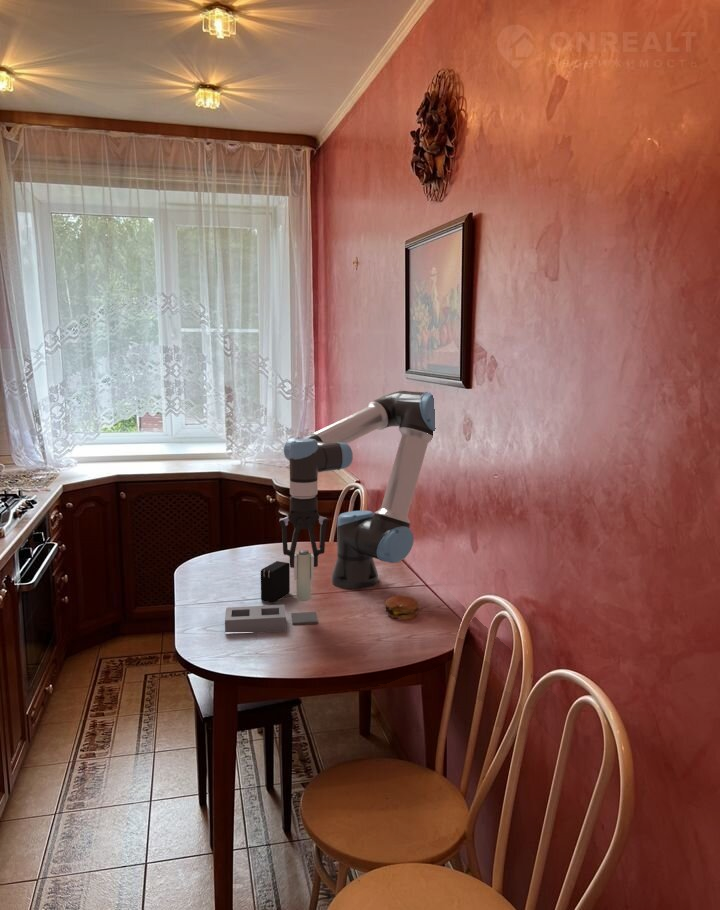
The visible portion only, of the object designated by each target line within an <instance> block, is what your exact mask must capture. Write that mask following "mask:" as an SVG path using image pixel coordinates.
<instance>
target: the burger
mask: <svg viewBox="0 0 720 910" xmlns="http://www.w3.org/2000/svg"><path fill="white" fill-rule="evenodd" d="M384 605H385V607H384V608H385V612H386V613H387V614H388V616H389V617H390V618H393V619H394V618H396V619H398V620H399V621H409V620H413V619H414V618H416V617H417V614H418V613H419V612H420V607H419V603H418V601H417V600H416V599H415V598H413V597H410V596H408V595H402V594H401V595H394V596H391V597H390V598H388V599H387V600H386V601H385V603H384Z"/></svg>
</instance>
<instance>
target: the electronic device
mask: <svg viewBox="0 0 720 910" xmlns="http://www.w3.org/2000/svg"><path fill="white" fill-rule="evenodd" d="M290 568H291V567H290V562H285V561H279V560H276V561H274V562H272V563H271V564H269V565H267V566H265V567H263V568H261V570H260V600H261V601H262V602H266V603H271V604H275V603H276V601H277V602H278V601H280V600H282V599H283V598H284V597H286V596H288V595H289V594H290V590H291V589H290V588H291V586H290V584H291V583H290V580H291V577H290V574H291V573H290V572H291V571H290Z"/></svg>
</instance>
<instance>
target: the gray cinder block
mask: <svg viewBox="0 0 720 910" xmlns="http://www.w3.org/2000/svg"><path fill="white" fill-rule="evenodd" d="M285 608H286V607H285V604H273V605H272V604H271V605H248V606H229V607H226V608H225V614H224V615H225V617H224V633H225V632H265V633H278V632H279V633H280V632H287V631H286V630H287V623H286V622H287V620H286V619H287V618H286V615H287V614H286V609H285Z"/></svg>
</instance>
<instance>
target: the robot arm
mask: <svg viewBox="0 0 720 910" xmlns="http://www.w3.org/2000/svg"><path fill="white" fill-rule="evenodd" d="M428 392H429V391H426V392H425V391H424V392H423V391H410V390H409V391H408V390H399V391H396V392H391V393H389V394H385V395H384V396H380V397H379V398H377V399H374V400H373V401H370V402H369V403H368V404H367V405H366V407H365V408H363V409H361V410H358V411H357V412H355V413H352V414H351V415H348V416H346V417H344V418H342V419H340V420H338V421H336V422H333V423H331V424H329V425H327V426H325V427H323V428H321V429H319V430H317V431H315V432H312V433H310V434H308V435H305V436H304V437H299V436H298V437H291V438H289V439H288V440H286V441H285V444H284V445H283V446H284V447H283V454H284V457H285V459H286V460H287V461H289V495H290V497H289V512H288V514H287V516H286V517H284V518H283V517H280V518H279V521H278V522H279V524H280V527H281V535H282V537H281V538H282V539H281V540H282V553H283V555H284V556H288V557H289V565H290V568H291V569H293V580H294V581H297V556H296V550H297V545H298V540H299V535H300V531H302V530H306V531H307V530H308V533H309V540H310V544H311V549H312V553H311V581H312V580H315V577H314V576H315V568H317V567H318V565H319V555H321V554H325V551H326V550H325V547H326V531H327V530H326V529H327V528H326V527H327V526H328V523H329V519H328V517H326V516H322V515H320V514H319V512H318V511H319V510H318V497H317V495H318V492H319V491H318V480H319V479H318V476H319V474H318V473H322V472H323V473H324V472H331V471H340V470H343V469H347V468H349V467H350V466H351V464H352V463H353V456H354V454H353V453H354V452H353V450H352V447H351V446H350V445H349V444H350V443H351V442H354V441H355V440H358V439H359V438H361V437H364V436H365V435H368V434H369V433H372V432H373V431H375V430H378V431H382V430H384V429H387V428H389V427H398V431H399V433H400V435H401V437H400V441H399V444H398V447H397V451H396V453H395V454H396V455H395V458H394V460H393V465H392V468H391V472H390V475H389V478H388V481H387V485H386V490H385V492H384V496H383V500H382V502H381V506H380V508H379V509H378V510H377V511H375V512H373V511H371V510H351V511H346V512H342V513H340V514H339V515H338V517H337V524H336V547H337V548H336V550H337V551H336V553H337V555H336V561H335V564H334V567H333V570H332V573H331V583H332V584H333V585H334V586H336V587H340V588H342V589H350V590H354V589H355V590H357V589H359V590H360V589H369V588H371V587H373V586H376V585H377V584H378V583H379V572H378V569H377V566H376V564H375V561H374V559H377V560H380V561H381V562H387V563H390V564H396V563H399V562H402V560H403V559H405V558H406V557H407V556H409V554H410V553H411V550H412V548H413V546H414V541H415V540H414V539H415V538H414V537H413V535H414V534H413V531H412V530H411V529H410V526H411V521H410V519H409V516H408V515H409V513H410V512H409V511H410V508H411V506H412V505H411V504H412V501H413V497H414V495H415V491H416V487H417V484H418V480H419V477H420V473H421V469H422V465H423V463H424V460H425V459H424V458H425V455H426V452H427V448H428V445H429V443H430V442H432V441H433V440H432V438H433V431H435V429H436V428H435V409H434V398H433V395H432V394H431V393H432V392H429V393H428ZM427 433H428V434H427ZM431 440H432V441H431ZM317 521H318V523H319V524H320V527H319V528H320V530H319V546H318V547H319V548H318V547H317V543H316V538H315V533H314V526H315V525H316V524H317ZM289 522H290V523H291V524H292V526H293V527H294V528H293V533H292V539H291V543H290V548H289V549H288V529H287V526H288V525H289Z"/></svg>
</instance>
